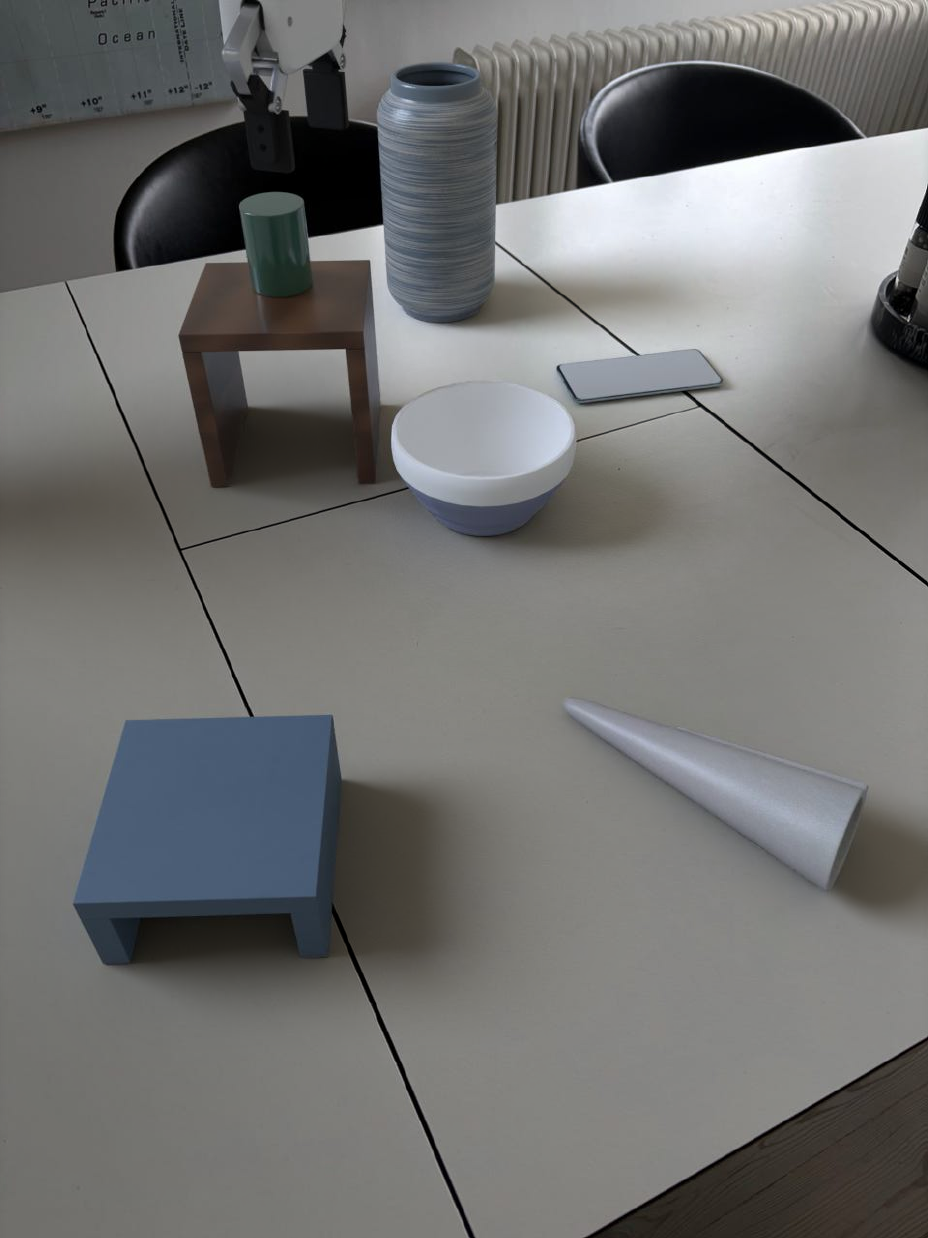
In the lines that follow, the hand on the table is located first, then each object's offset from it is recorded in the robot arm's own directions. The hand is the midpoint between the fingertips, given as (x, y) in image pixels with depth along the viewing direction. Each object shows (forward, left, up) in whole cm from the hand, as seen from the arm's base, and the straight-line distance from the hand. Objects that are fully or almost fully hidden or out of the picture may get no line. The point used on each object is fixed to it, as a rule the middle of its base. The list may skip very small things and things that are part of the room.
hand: (302, 147), depth 74 cm
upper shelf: (-3, -1, -25) cm, 25 cm away
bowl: (+13, -11, -25) cm, 30 cm away
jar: (-3, +1, -11) cm, 11 cm away
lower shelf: (-3, -45, -25) cm, 52 cm away
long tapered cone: (+24, -41, -25) cm, 54 cm away
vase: (+10, +26, -25) cm, 37 cm away
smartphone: (+29, +9, -25) cm, 39 cm away
